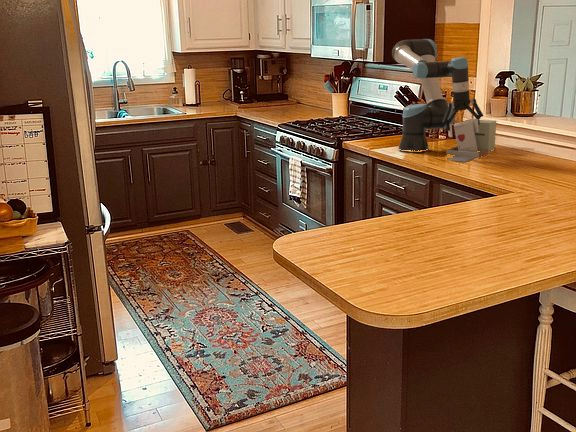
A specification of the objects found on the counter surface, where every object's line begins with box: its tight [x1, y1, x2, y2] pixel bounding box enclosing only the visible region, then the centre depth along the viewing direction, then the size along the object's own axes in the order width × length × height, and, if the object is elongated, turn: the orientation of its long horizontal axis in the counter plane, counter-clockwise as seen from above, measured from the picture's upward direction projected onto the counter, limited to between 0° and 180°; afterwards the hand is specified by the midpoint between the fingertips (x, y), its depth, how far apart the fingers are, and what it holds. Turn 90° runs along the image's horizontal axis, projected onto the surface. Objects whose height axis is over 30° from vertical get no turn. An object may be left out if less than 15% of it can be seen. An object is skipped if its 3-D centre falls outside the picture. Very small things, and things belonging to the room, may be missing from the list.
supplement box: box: [453, 119, 478, 153], centre depth 310 cm, size 9×9×15 cm
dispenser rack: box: [445, 118, 497, 159], centre depth 312 cm, size 24×16×15 cm
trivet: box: [447, 155, 477, 163], centre depth 301 cm, size 14×14×1 cm
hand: (463, 134), depth 305 cm, fingers open, 13 cm apart
